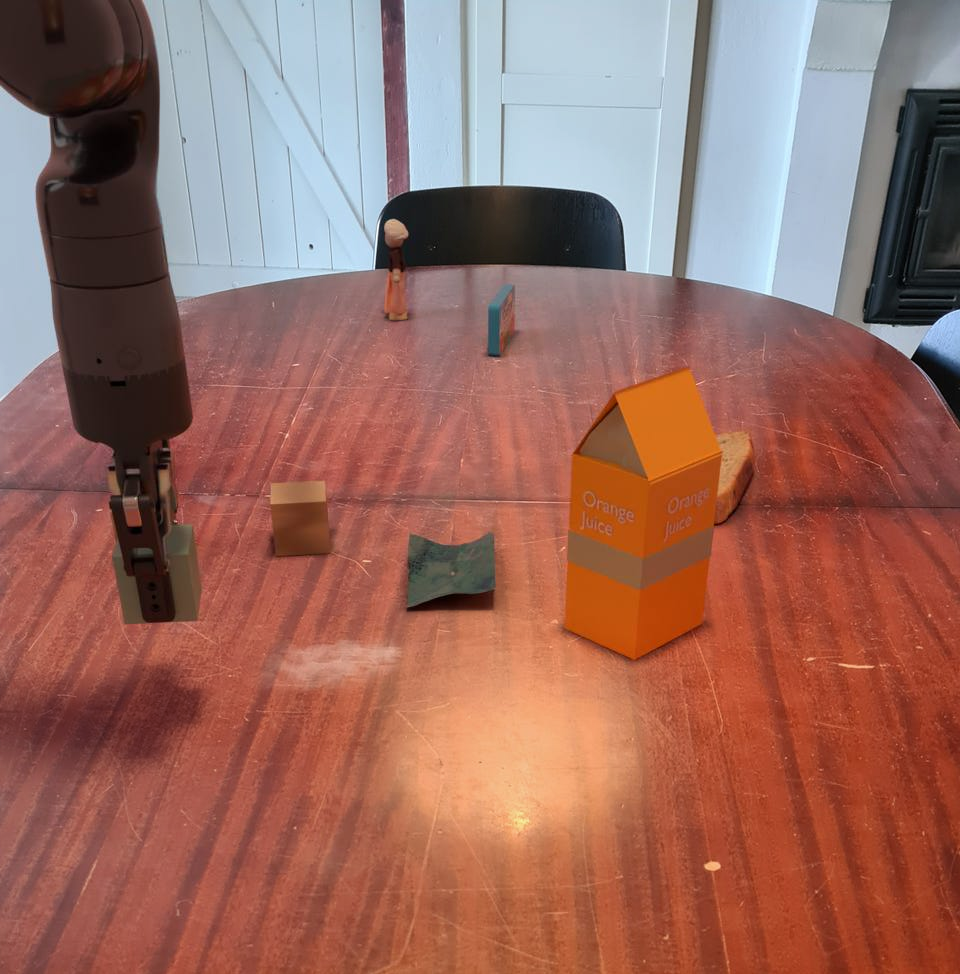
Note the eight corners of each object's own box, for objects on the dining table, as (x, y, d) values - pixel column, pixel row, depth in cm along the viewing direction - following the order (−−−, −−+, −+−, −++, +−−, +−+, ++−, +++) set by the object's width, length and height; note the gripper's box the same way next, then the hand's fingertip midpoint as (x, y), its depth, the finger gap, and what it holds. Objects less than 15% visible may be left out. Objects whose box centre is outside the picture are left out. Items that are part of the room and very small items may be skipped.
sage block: (124, 624, 85) (111, 557, 82) (131, 592, 89) (120, 526, 86) (197, 621, 86) (188, 553, 83) (202, 589, 90) (192, 523, 87)
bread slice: (695, 531, 117) (700, 493, 115) (580, 473, 129) (582, 437, 126) (830, 491, 125) (836, 454, 122) (710, 439, 137) (714, 405, 134)
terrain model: (497, 608, 104) (496, 587, 103) (405, 612, 104) (403, 592, 103) (494, 545, 114) (493, 526, 113) (411, 550, 114) (409, 530, 113)
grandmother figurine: (381, 310, 179) (376, 214, 172) (407, 309, 180) (403, 213, 172) (387, 325, 174) (383, 226, 166) (414, 323, 174) (411, 224, 166)
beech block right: (275, 556, 113) (269, 503, 110) (276, 534, 117) (270, 482, 114) (330, 553, 113) (326, 501, 110) (329, 531, 117) (325, 480, 114)
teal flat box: (503, 331, 171) (504, 283, 167) (514, 331, 171) (514, 283, 167) (488, 356, 162) (488, 306, 158) (499, 356, 161) (499, 306, 158)
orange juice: (703, 624, 102) (733, 376, 90) (634, 660, 97) (656, 404, 85) (631, 594, 107) (650, 353, 94) (562, 627, 102) (572, 379, 89)
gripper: (76, 322, 82) (120, 561, 92) (42, 391, 71) (96, 653, 81) (191, 319, 83) (221, 557, 93) (175, 387, 72) (212, 648, 82)
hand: (163, 600), depth 87 cm, fingers closed on sage block, 5 cm apart
